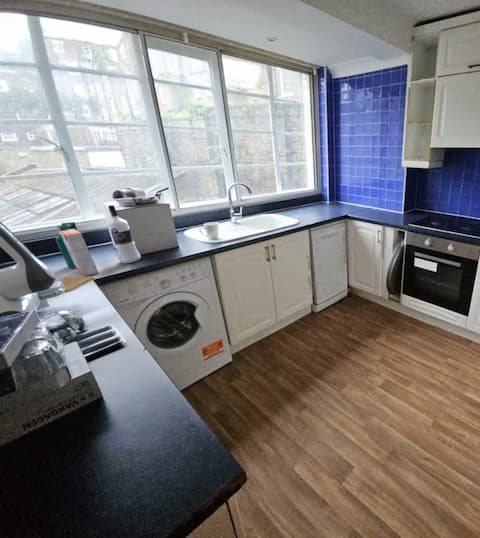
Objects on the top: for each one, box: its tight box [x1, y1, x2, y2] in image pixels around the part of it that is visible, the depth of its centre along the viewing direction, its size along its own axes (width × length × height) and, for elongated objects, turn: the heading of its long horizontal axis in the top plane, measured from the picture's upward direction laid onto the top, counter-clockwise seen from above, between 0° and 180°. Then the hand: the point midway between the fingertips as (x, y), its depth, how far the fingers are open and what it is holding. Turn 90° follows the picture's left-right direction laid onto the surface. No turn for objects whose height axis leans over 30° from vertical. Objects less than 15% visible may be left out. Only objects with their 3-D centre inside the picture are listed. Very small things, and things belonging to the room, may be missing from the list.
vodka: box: [107, 204, 142, 264], centre depth 153 cm, size 9×9×30 cm
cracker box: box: [58, 229, 99, 277], centre depth 142 cm, size 14×6×21 cm, turn 52°
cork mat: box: [59, 276, 94, 292], centre depth 132 cm, size 13×13×1 cm
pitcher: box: [55, 221, 78, 270], centre depth 151 cm, size 10×8×22 cm
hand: (27, 288), depth 108 cm, fingers closed on syrup box, 6 cm apart
